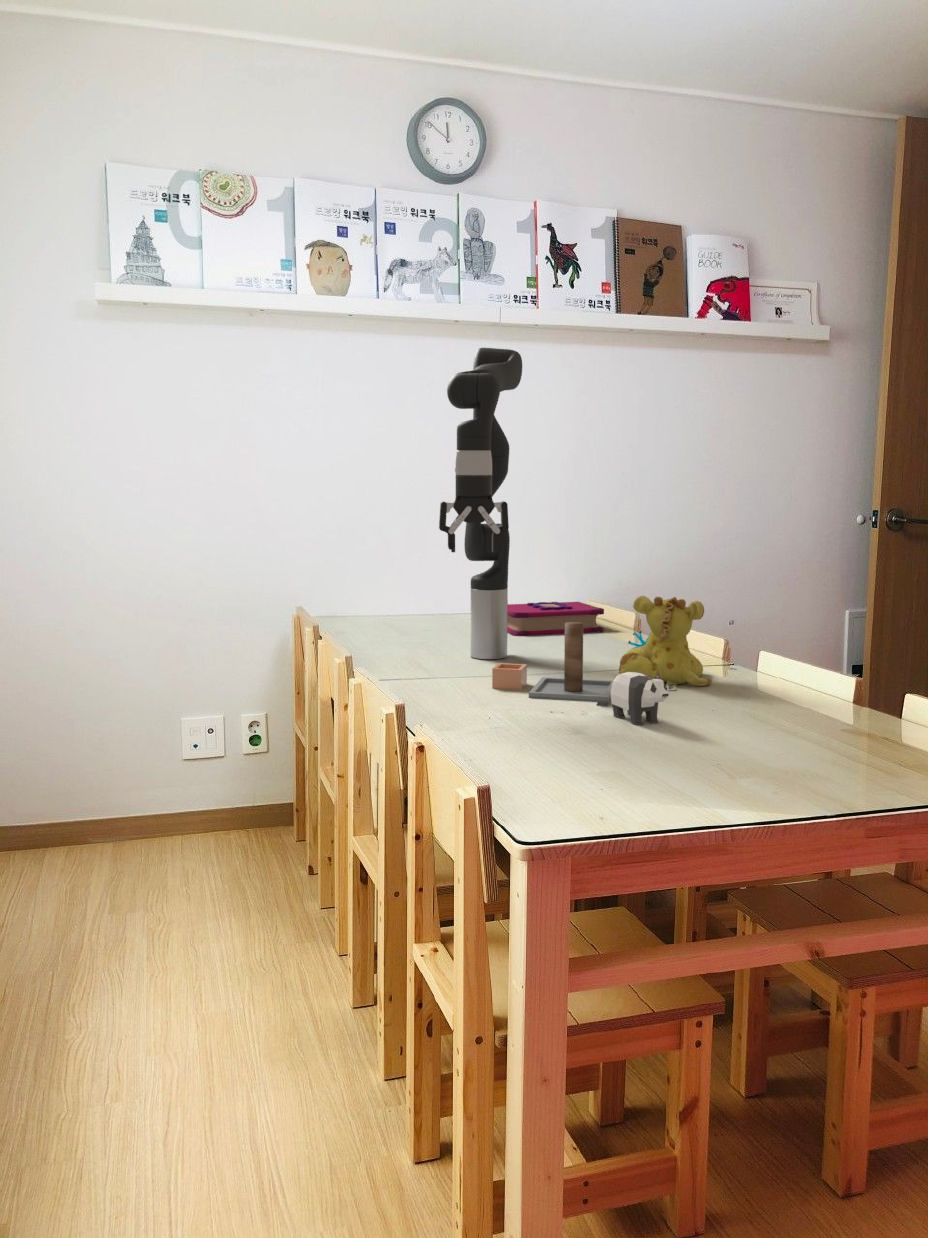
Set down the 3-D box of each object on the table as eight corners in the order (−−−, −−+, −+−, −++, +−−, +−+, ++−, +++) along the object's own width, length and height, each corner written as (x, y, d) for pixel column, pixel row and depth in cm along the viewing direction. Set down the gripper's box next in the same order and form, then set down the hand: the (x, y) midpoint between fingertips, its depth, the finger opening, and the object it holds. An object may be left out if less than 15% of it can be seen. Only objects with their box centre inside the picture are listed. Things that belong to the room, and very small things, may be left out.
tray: (542, 685, 220) (542, 677, 220) (616, 689, 216) (616, 681, 216) (528, 701, 205) (528, 692, 205) (608, 705, 201) (608, 696, 201)
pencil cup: (498, 685, 220) (498, 663, 219) (526, 687, 218) (526, 664, 217) (492, 691, 214) (492, 668, 213) (521, 693, 212) (521, 669, 212)
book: (490, 627, 306) (490, 602, 305) (576, 623, 314) (576, 598, 313) (514, 637, 286) (514, 611, 285) (605, 633, 295) (605, 607, 294)
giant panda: (607, 715, 194) (608, 665, 192) (631, 712, 196) (632, 663, 195) (652, 732, 180) (653, 680, 179) (677, 729, 183) (679, 677, 181)
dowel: (565, 688, 213) (566, 621, 211) (583, 688, 212) (584, 622, 210) (562, 691, 209) (563, 624, 207) (581, 692, 208) (582, 624, 206)
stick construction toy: (630, 652, 248) (632, 625, 252) (619, 664, 254) (621, 637, 258) (675, 665, 250) (677, 637, 254) (663, 676, 256) (665, 649, 260)
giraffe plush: (694, 669, 239) (696, 588, 236) (726, 690, 215) (729, 601, 213) (608, 670, 237) (610, 589, 235) (631, 692, 214) (633, 602, 211)
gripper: (440, 473, 204) (440, 554, 206) (510, 473, 205) (510, 553, 208) (438, 472, 211) (438, 550, 214) (505, 472, 212) (505, 550, 215)
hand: (473, 551), depth 211 cm, fingers open, 8 cm apart
